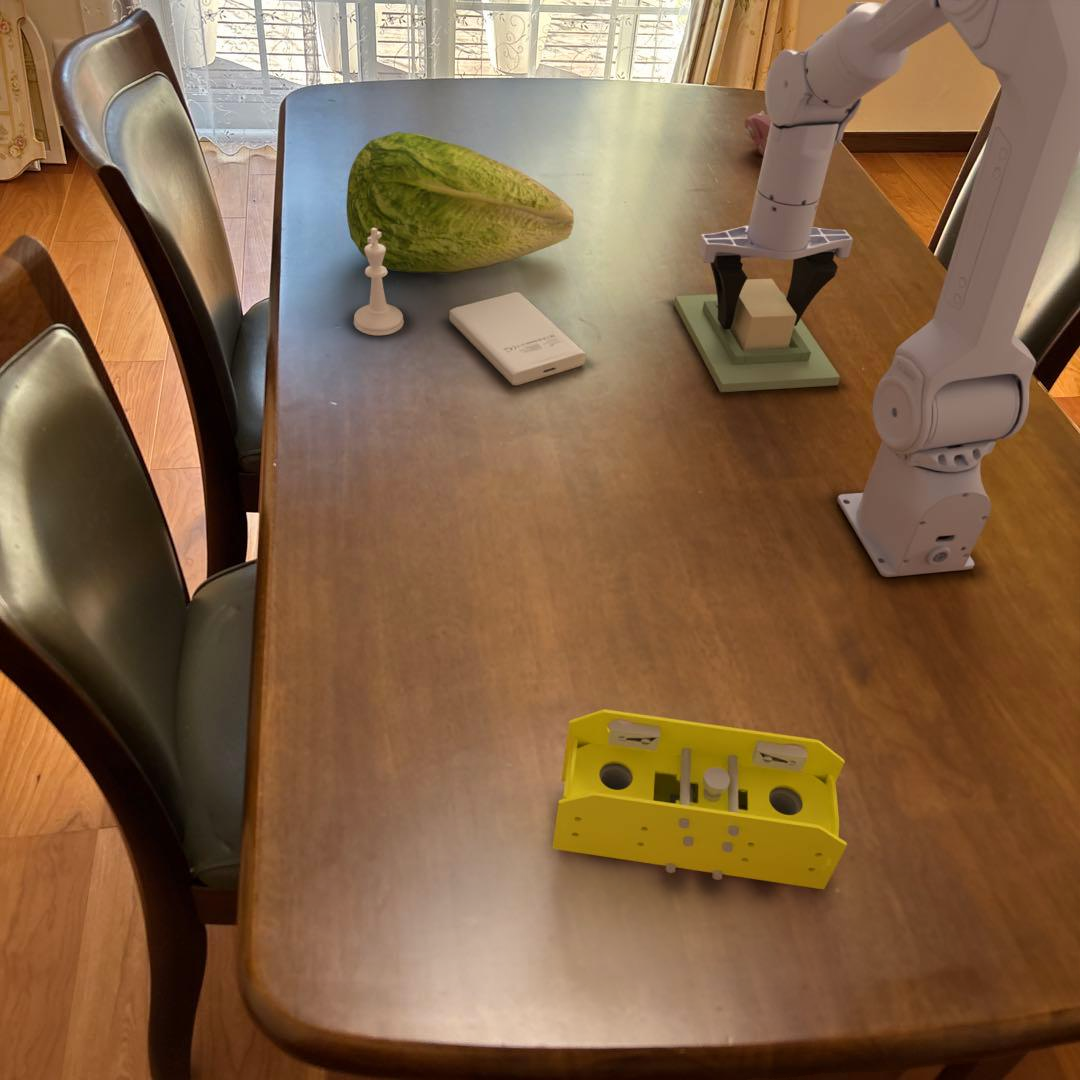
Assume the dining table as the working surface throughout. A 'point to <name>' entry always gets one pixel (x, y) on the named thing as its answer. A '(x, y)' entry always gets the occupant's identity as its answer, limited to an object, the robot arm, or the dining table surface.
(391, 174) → the lettuce
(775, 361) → the base mat
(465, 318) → the hard drive
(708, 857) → the yellow toy chassis
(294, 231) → the dining table surface
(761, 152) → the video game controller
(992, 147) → the robot arm
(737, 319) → the tan rectangular block
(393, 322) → the chess piece
